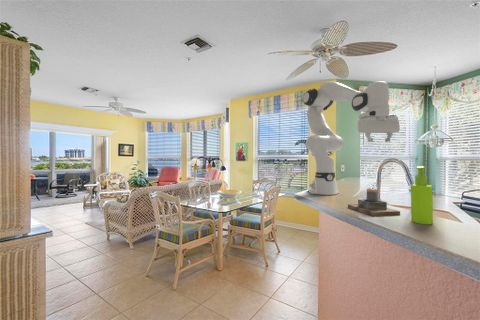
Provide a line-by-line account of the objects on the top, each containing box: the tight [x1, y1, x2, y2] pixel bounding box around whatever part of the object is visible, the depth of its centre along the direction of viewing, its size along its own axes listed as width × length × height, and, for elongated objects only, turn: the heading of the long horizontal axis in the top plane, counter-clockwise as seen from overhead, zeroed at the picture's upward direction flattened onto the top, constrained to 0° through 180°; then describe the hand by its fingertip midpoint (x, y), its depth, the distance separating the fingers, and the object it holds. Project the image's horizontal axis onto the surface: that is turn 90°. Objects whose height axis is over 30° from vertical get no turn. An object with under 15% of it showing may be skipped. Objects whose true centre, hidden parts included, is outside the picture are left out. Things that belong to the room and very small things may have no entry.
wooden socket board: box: [347, 198, 401, 217], centre depth 93 cm, size 16×12×4 cm
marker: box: [366, 188, 378, 202], centre depth 93 cm, size 4×4×8 cm
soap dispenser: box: [410, 165, 434, 225], centre depth 76 cm, size 6×7×20 cm
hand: (379, 141), depth 106 cm, fingers open, 8 cm apart
